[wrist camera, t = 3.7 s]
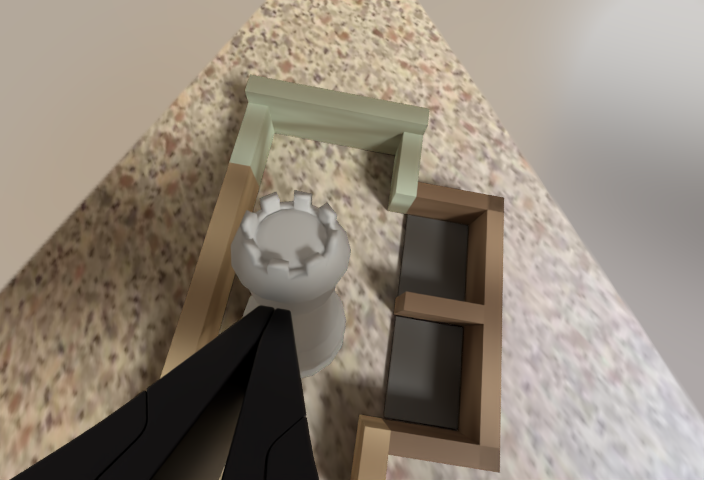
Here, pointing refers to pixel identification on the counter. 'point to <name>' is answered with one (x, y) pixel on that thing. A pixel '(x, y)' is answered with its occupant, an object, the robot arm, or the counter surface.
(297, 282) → the rook chess piece
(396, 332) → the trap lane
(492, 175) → the counter surface
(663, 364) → the counter surface
